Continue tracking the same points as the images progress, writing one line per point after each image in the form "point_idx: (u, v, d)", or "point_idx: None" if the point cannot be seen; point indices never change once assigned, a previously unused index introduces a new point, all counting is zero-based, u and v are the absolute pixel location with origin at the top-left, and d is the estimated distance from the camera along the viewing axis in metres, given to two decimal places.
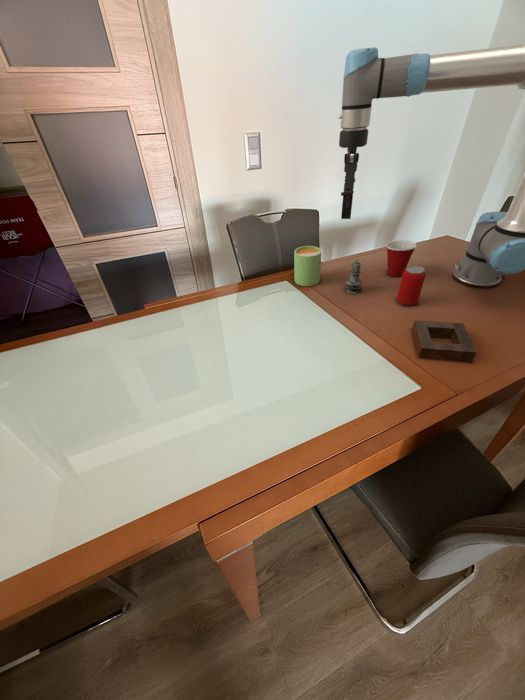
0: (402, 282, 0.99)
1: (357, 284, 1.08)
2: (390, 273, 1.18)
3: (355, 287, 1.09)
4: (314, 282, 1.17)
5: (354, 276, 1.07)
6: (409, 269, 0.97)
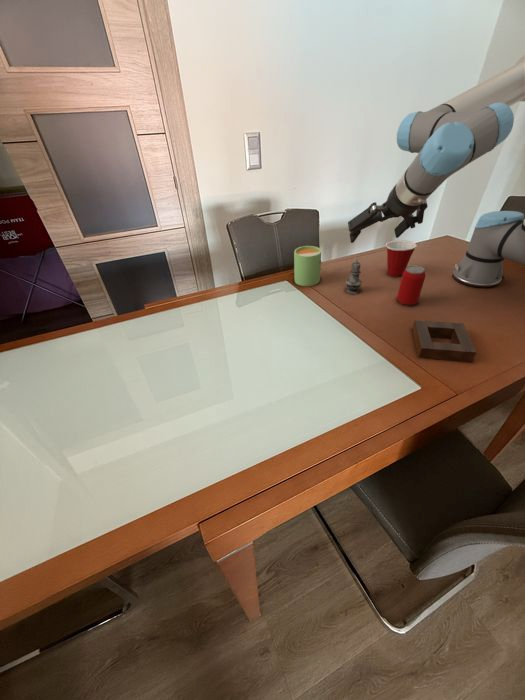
0: (402, 282, 0.99)
1: (357, 284, 1.08)
2: (390, 273, 1.18)
3: (355, 287, 1.09)
4: (314, 282, 1.17)
5: (354, 276, 1.07)
6: (409, 269, 0.97)
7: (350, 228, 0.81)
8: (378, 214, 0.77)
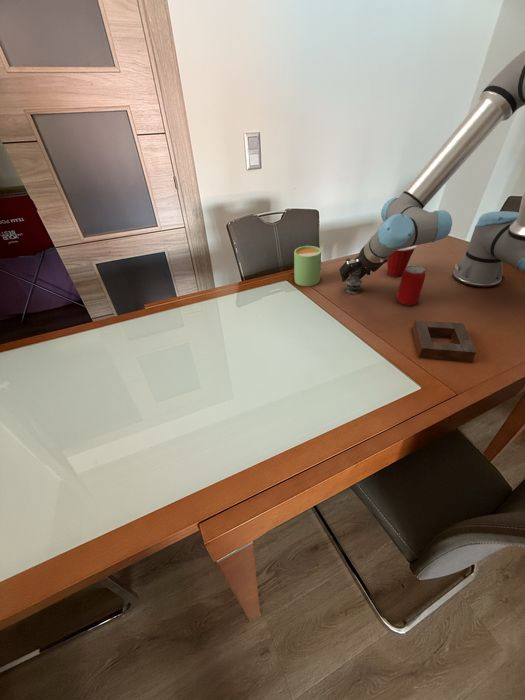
0: (402, 282, 0.99)
1: (357, 284, 1.08)
2: (390, 273, 1.18)
3: (355, 287, 1.09)
4: (314, 282, 1.17)
5: (354, 276, 1.07)
6: (409, 269, 0.97)
7: None
8: None
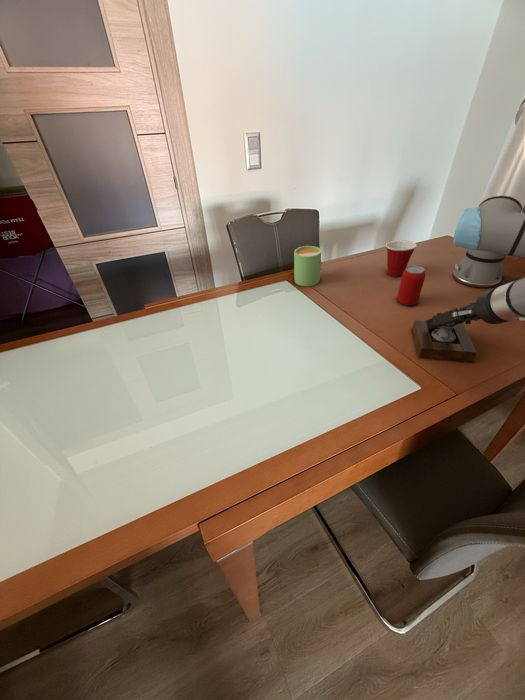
0: (402, 282, 0.99)
1: (450, 339, 0.82)
2: (390, 273, 1.18)
3: None
4: (314, 282, 1.17)
5: (448, 330, 0.81)
6: (409, 269, 0.97)
7: (436, 323, 0.77)
8: None
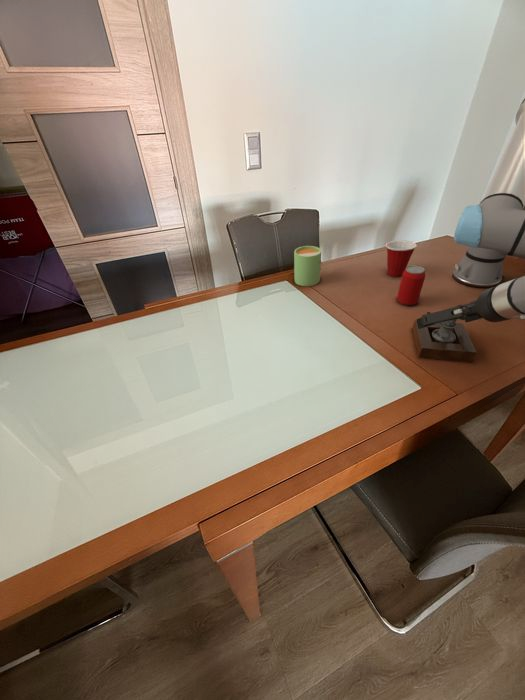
0: (402, 282, 0.99)
1: (451, 340, 0.82)
2: (390, 273, 1.18)
3: None
4: (314, 282, 1.17)
5: (448, 330, 0.81)
6: (409, 269, 0.97)
7: (425, 323, 0.75)
8: None
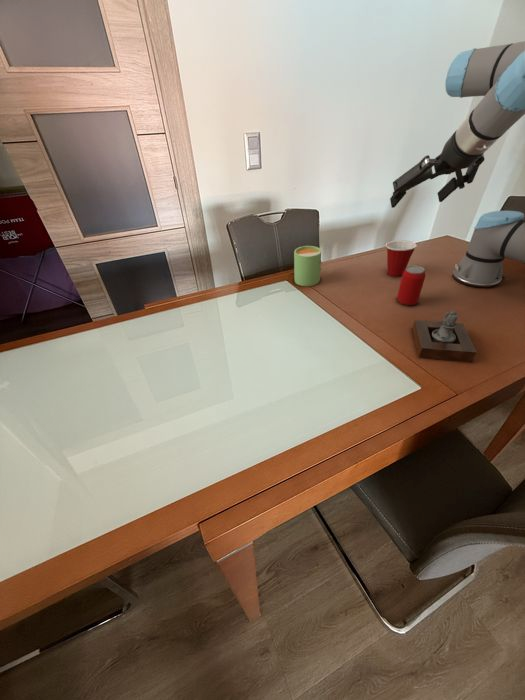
0: (402, 282, 0.99)
1: (451, 340, 0.82)
2: (390, 273, 1.18)
3: None
4: (314, 282, 1.17)
5: (448, 330, 0.81)
6: (409, 269, 0.97)
7: (396, 188, 0.75)
8: (429, 170, 0.71)
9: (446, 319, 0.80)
